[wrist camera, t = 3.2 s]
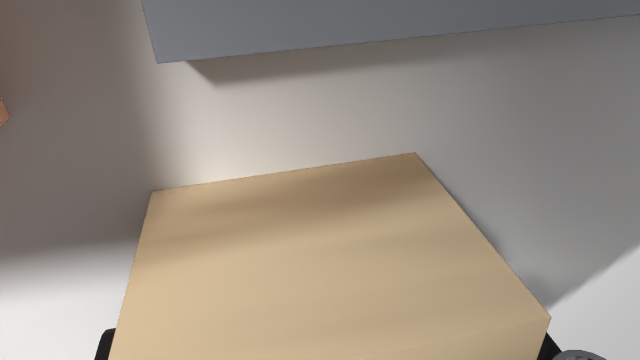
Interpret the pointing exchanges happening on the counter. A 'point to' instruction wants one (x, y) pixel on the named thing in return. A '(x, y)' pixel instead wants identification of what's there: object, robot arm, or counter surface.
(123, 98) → the counter surface
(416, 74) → the counter surface
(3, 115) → the terracotta brick
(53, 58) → the counter surface
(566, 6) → the baseplate
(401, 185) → the oak brick
